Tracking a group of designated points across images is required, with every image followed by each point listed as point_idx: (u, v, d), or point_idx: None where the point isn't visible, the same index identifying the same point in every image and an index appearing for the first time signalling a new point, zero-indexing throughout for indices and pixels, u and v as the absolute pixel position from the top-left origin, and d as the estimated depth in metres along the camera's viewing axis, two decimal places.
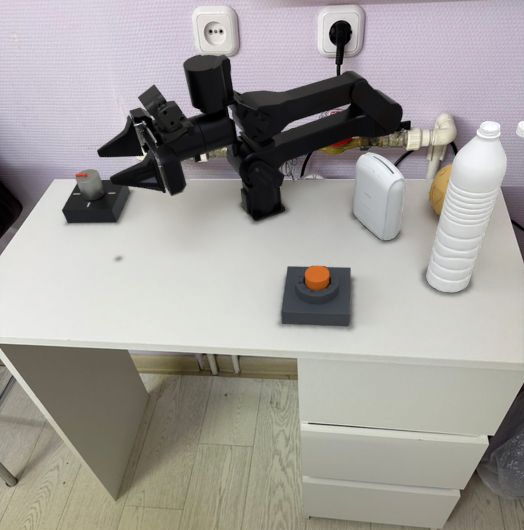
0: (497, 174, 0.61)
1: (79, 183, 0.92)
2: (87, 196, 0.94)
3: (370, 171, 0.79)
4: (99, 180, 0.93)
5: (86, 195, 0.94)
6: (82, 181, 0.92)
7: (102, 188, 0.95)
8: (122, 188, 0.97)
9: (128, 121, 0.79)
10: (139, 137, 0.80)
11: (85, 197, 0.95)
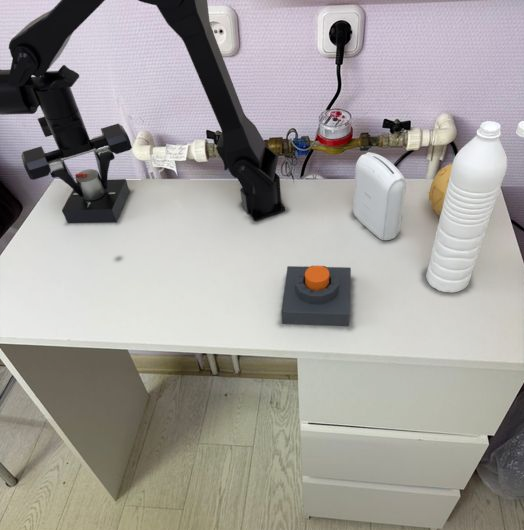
0: (497, 174, 0.61)
1: (79, 183, 0.92)
2: (87, 196, 0.94)
3: (370, 171, 0.79)
4: (99, 180, 0.93)
5: (86, 195, 0.94)
6: (82, 181, 0.92)
7: (102, 188, 0.95)
8: (122, 188, 0.97)
9: None
10: None
11: (85, 197, 0.95)
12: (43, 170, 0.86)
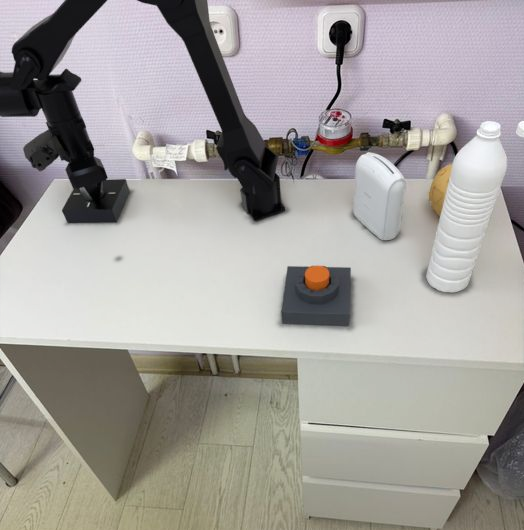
0: (497, 174, 0.61)
1: None
2: (103, 189, 0.95)
3: (370, 171, 0.79)
4: None
5: (102, 190, 0.95)
6: None
7: None
8: (122, 188, 0.97)
9: None
10: None
11: (101, 194, 0.95)
12: None
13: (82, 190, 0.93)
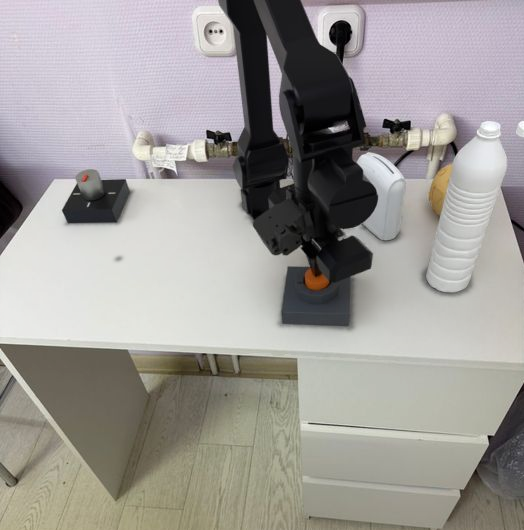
0: (497, 174, 0.61)
1: (95, 180, 0.93)
2: (103, 189, 0.95)
3: (370, 171, 0.79)
4: None
5: (102, 190, 0.95)
6: (96, 176, 0.93)
7: None
8: (122, 188, 0.97)
9: None
10: None
11: (101, 194, 0.95)
12: None
13: (82, 190, 0.93)
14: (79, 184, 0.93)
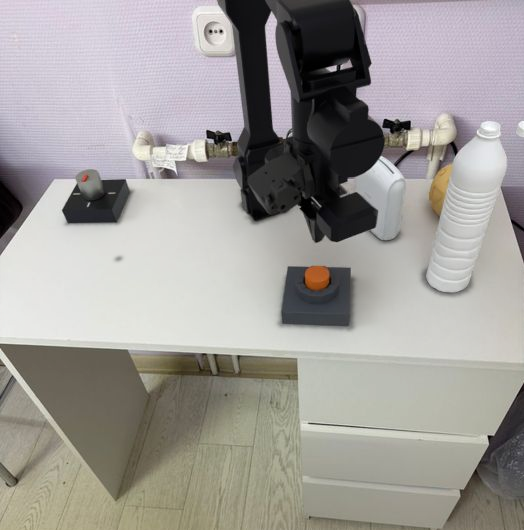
0: (497, 174, 0.61)
1: (95, 180, 0.93)
2: (103, 189, 0.95)
3: (370, 171, 0.79)
4: None
5: (102, 190, 0.95)
6: (96, 176, 0.93)
7: None
8: (122, 188, 0.97)
9: None
10: None
11: (101, 194, 0.95)
12: None
13: (82, 190, 0.93)
14: (79, 184, 0.93)
